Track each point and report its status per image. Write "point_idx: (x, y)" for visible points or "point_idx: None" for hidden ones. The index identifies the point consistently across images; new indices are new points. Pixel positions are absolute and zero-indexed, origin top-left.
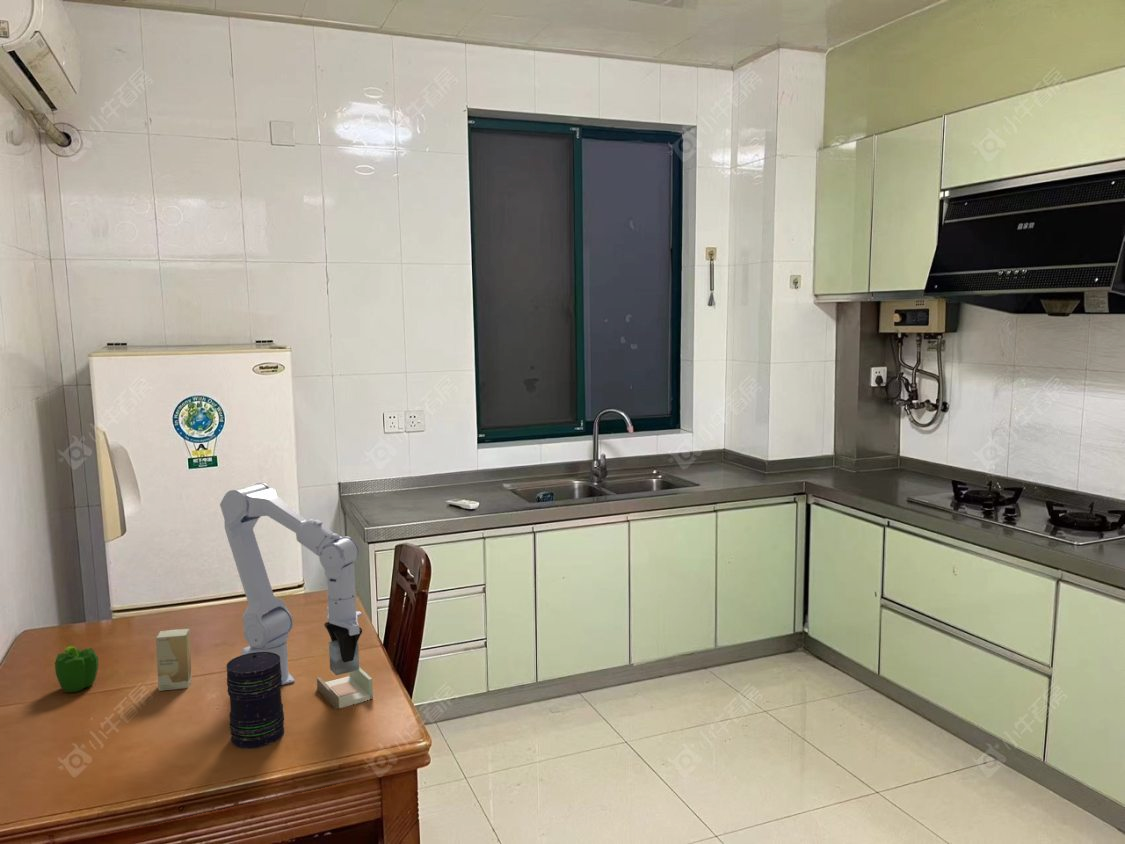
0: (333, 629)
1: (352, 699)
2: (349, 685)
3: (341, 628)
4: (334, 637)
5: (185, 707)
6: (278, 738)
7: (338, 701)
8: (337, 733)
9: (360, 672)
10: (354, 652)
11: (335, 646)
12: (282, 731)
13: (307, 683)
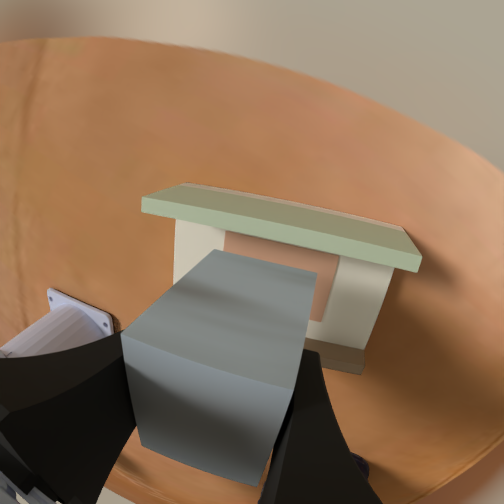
0: (91, 480)
1: (375, 305)
2: (259, 247)
3: (76, 447)
4: (120, 437)
5: (131, 447)
6: (367, 467)
7: (364, 356)
8: (462, 398)
9: (299, 243)
10: (324, 386)
11: (234, 477)
12: (358, 463)
13: (131, 297)
